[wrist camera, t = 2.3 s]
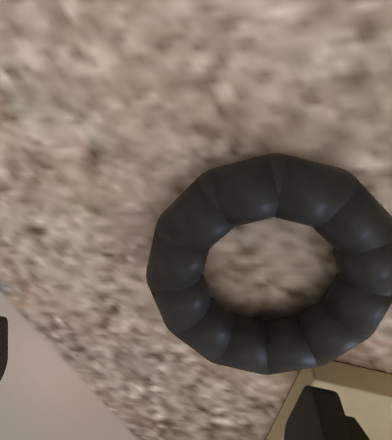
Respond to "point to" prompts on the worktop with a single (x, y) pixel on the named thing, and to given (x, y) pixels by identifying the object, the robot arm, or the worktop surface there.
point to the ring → (259, 210)
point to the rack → (346, 397)
